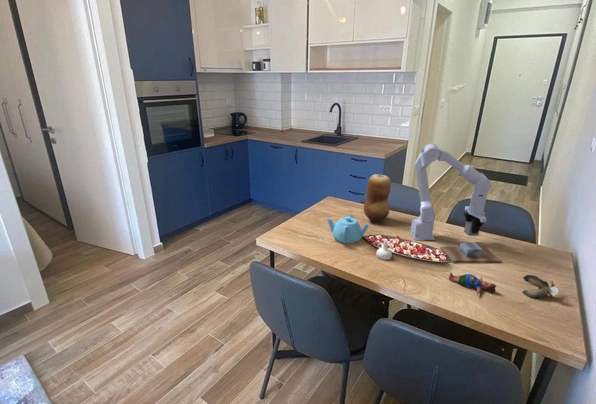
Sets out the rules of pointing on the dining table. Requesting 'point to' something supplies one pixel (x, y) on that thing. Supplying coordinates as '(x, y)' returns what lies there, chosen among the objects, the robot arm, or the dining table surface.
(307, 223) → the dining table surface
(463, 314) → the dining table surface
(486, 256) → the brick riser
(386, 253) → the garlic bulb
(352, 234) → the teapot
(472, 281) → the toy character
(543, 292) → the eagle figurine
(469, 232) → the gray brick
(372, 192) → the butternut squash
